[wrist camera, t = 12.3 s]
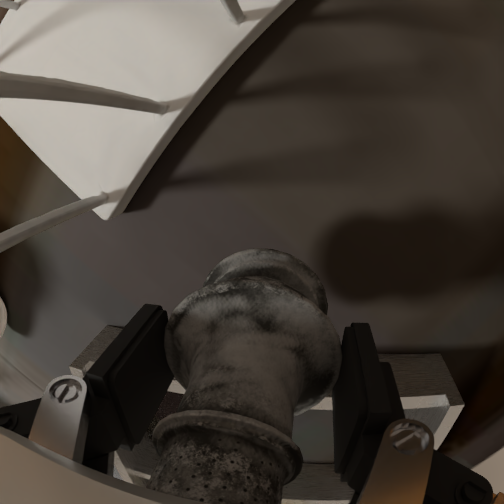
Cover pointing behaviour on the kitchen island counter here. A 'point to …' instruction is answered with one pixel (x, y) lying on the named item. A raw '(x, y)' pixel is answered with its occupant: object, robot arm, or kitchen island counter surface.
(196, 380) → the dark grey rounded piece
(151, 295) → the kitchen island counter surface
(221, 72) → the file sorter
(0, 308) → the spread jar
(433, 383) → the divided tray
